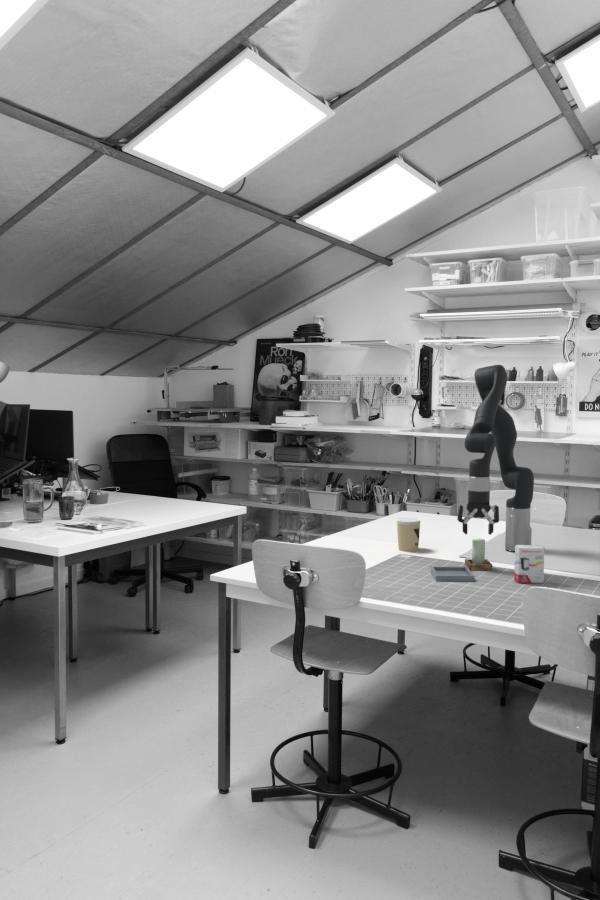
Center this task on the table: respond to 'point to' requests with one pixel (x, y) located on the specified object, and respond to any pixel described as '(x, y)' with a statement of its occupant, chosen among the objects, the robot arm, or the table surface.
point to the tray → (451, 573)
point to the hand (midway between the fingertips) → (477, 534)
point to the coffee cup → (408, 534)
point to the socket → (478, 565)
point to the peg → (478, 551)
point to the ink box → (529, 564)
